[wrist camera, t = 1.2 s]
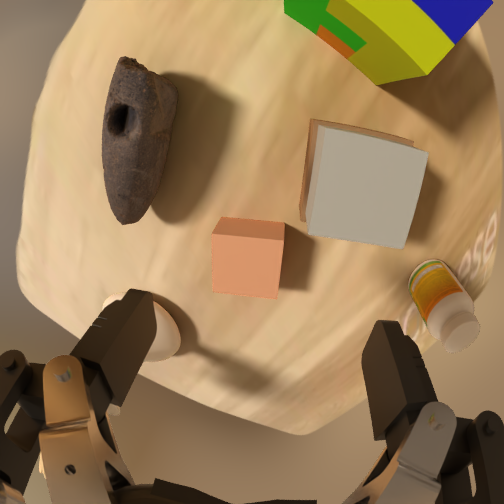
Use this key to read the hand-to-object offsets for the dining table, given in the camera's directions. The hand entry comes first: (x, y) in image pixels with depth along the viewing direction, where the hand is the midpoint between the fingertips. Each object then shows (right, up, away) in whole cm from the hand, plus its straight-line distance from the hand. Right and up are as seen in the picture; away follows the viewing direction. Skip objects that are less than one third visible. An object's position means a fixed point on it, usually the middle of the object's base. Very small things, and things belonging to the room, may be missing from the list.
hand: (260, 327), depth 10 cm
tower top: (+8, +8, +10) cm, 15 cm away
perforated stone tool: (-10, +13, +15) cm, 22 cm away
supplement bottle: (+19, 0, +18) cm, 26 cm away
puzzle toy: (+9, +23, +7) cm, 26 cm away
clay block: (0, +3, +19) cm, 19 cm away
